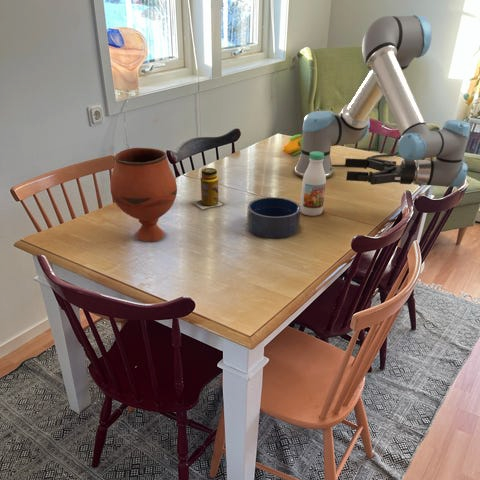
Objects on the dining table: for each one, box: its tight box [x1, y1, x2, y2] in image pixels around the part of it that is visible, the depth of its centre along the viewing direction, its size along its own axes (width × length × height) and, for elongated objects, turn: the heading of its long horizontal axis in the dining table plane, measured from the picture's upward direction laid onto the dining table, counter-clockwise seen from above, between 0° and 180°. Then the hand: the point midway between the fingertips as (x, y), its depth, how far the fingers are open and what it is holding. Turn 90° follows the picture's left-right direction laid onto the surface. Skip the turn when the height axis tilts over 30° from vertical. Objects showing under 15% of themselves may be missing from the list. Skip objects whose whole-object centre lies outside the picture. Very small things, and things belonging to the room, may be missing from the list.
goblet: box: [109, 147, 178, 243], centre depth 141 cm, size 19×19×25 cm
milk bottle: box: [299, 151, 327, 217], centre depth 159 cm, size 8×8×20 cm
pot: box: [246, 196, 301, 240], centre depth 152 cm, size 17×17×7 cm
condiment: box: [192, 167, 224, 210], centre depth 166 cm, size 7×8×12 cm
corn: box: [282, 133, 302, 156], centre depth 218 cm, size 7×8×20 cm
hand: (345, 169), depth 154 cm, fingers open, 13 cm apart
